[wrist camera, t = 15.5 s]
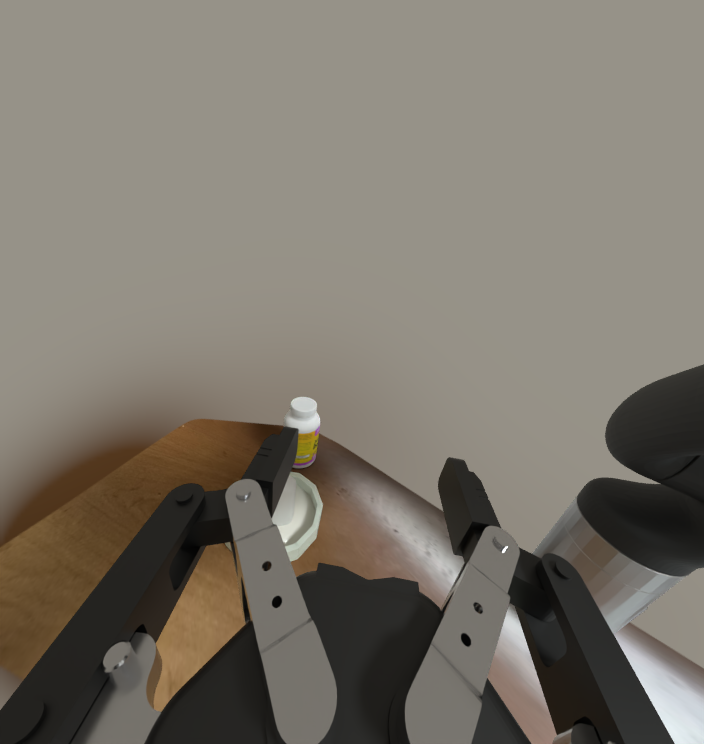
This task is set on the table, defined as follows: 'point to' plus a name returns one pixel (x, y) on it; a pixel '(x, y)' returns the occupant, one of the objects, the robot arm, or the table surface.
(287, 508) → the eye dropper bottle
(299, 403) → the supplement bottle
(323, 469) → the table surface
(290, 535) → the dish
